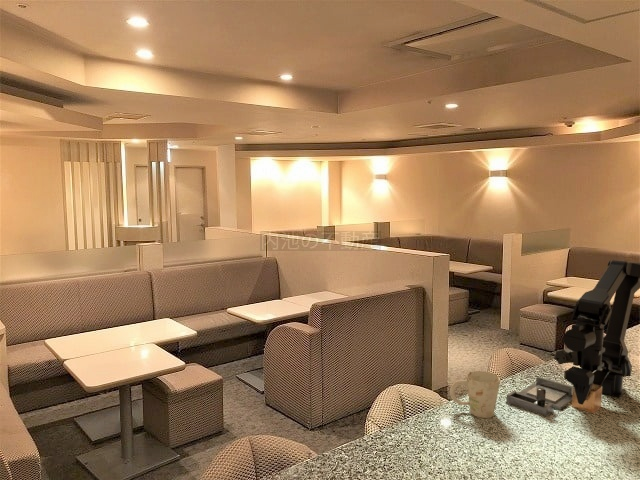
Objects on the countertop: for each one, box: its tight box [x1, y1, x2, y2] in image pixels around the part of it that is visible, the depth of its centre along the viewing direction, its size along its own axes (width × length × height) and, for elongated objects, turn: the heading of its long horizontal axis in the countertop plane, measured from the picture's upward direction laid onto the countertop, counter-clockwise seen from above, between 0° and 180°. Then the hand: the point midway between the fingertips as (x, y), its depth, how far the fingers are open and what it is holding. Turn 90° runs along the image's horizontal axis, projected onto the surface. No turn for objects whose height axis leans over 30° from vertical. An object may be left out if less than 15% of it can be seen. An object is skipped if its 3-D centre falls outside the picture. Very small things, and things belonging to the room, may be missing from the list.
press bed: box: [518, 376, 573, 411], centre depth 142 cm, size 11×12×3 cm
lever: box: [534, 388, 547, 407], centre depth 133 cm, size 2×3×5 cm
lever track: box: [505, 390, 554, 417], centre depth 136 cm, size 4×11×2 cm, turn 43°
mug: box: [449, 370, 501, 419], centre depth 132 cm, size 8×13×10 cm, turn 78°
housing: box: [571, 384, 603, 414], centre depth 136 cm, size 6×6×6 cm
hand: (587, 399), depth 136 cm, fingers open, 9 cm apart
